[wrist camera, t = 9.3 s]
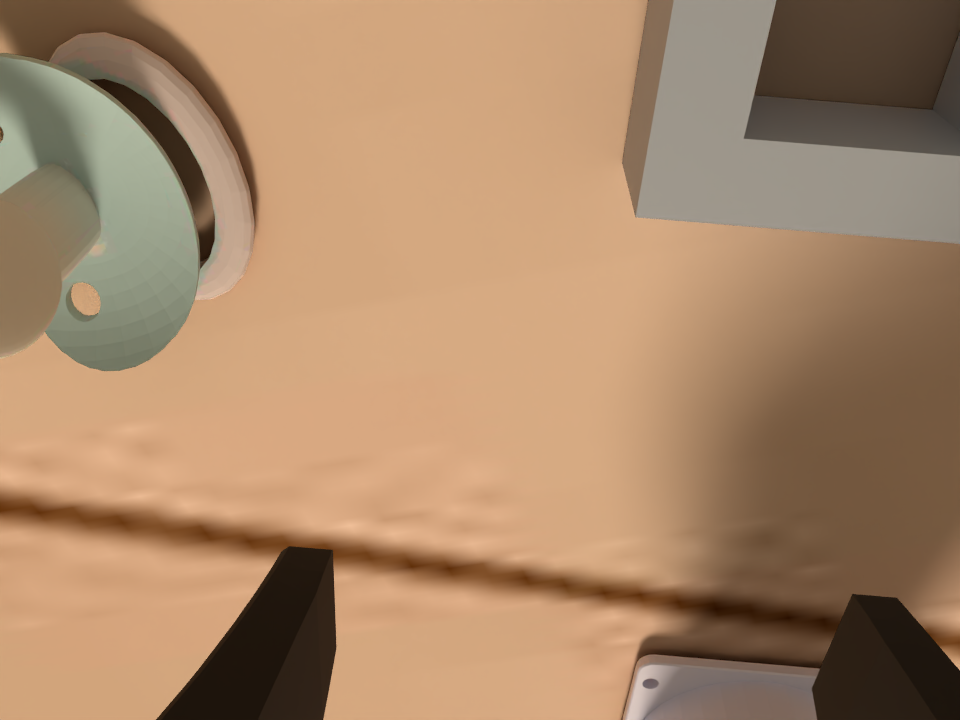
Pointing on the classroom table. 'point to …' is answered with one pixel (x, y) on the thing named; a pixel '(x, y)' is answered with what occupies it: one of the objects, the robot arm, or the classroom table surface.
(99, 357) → the pacifier
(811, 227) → the hole block
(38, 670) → the classroom table surface
